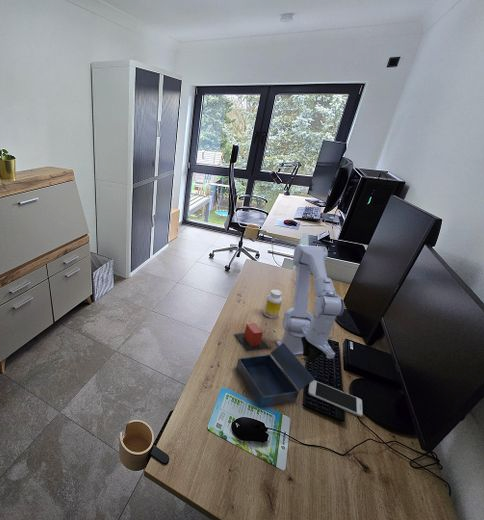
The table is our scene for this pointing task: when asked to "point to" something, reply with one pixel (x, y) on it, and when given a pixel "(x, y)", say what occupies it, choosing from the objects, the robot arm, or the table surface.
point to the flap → (292, 366)
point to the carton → (266, 381)
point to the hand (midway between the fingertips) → (308, 358)
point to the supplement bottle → (273, 304)
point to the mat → (247, 345)
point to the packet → (253, 334)
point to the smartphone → (336, 397)
